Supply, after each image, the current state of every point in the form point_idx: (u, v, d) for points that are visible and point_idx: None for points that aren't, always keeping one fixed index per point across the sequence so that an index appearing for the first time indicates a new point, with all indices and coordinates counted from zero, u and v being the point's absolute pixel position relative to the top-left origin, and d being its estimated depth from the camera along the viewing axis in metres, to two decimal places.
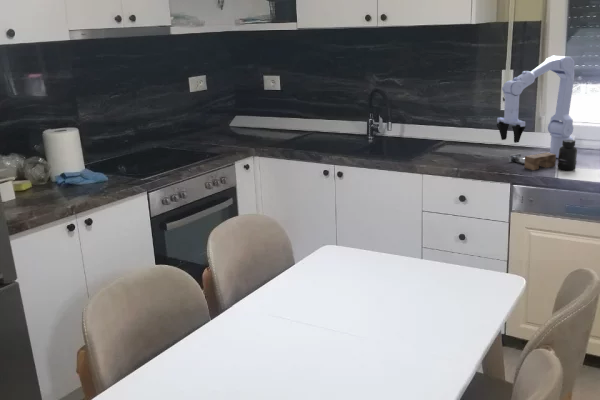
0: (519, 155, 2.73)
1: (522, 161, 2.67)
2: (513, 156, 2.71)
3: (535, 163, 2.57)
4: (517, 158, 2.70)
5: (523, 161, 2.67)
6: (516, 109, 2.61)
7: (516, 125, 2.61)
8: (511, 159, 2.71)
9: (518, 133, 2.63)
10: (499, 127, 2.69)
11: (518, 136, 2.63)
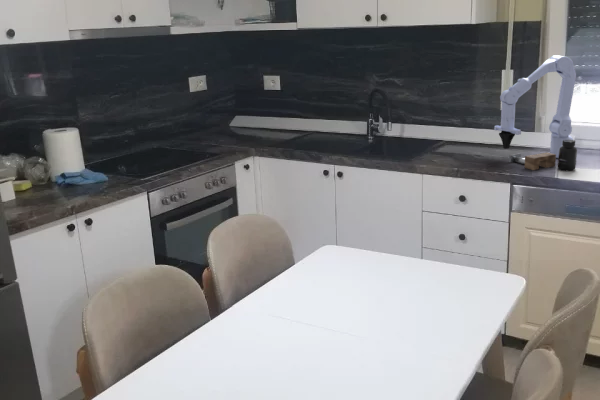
0: (519, 155, 2.73)
1: (522, 161, 2.67)
2: (513, 156, 2.71)
3: (535, 163, 2.57)
4: (517, 158, 2.70)
5: (523, 161, 2.67)
6: (510, 118, 2.70)
7: (506, 132, 2.73)
8: (511, 159, 2.71)
9: (508, 140, 2.75)
10: (501, 136, 2.75)
11: (508, 142, 2.75)
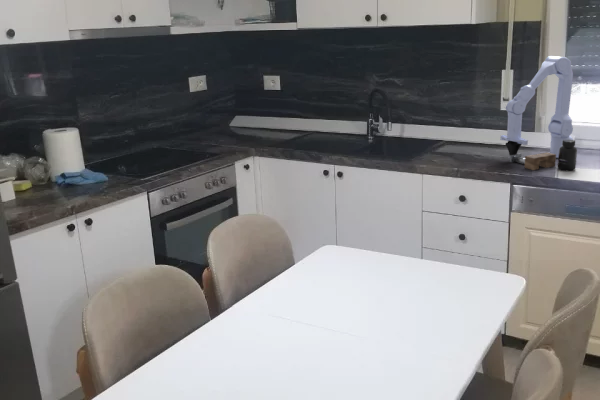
0: (519, 155, 2.72)
1: (523, 161, 2.67)
2: (513, 156, 2.71)
3: (535, 163, 2.57)
4: (518, 158, 2.70)
5: (524, 161, 2.66)
6: (518, 128, 2.67)
7: (512, 142, 2.71)
8: (511, 159, 2.71)
9: (514, 150, 2.72)
10: (508, 146, 2.72)
11: (514, 152, 2.73)
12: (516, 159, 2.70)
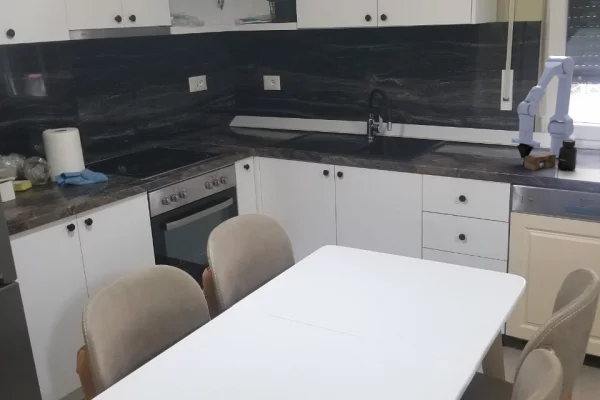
0: None
1: None
2: None
3: (535, 163, 2.57)
4: None
5: None
6: (532, 130, 2.62)
7: (524, 145, 2.65)
8: (523, 162, 2.65)
9: (526, 152, 2.66)
10: (519, 149, 2.66)
11: (526, 155, 2.66)
12: None
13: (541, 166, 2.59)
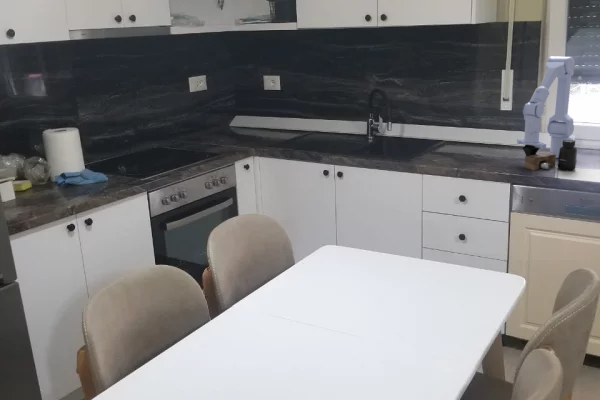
0: None
1: (541, 166, 2.58)
2: None
3: (535, 163, 2.57)
4: None
5: (542, 166, 2.57)
6: (538, 131, 2.59)
7: (530, 146, 2.62)
8: None
9: (532, 154, 2.63)
10: (525, 150, 2.63)
11: None
12: None
13: (547, 167, 2.56)
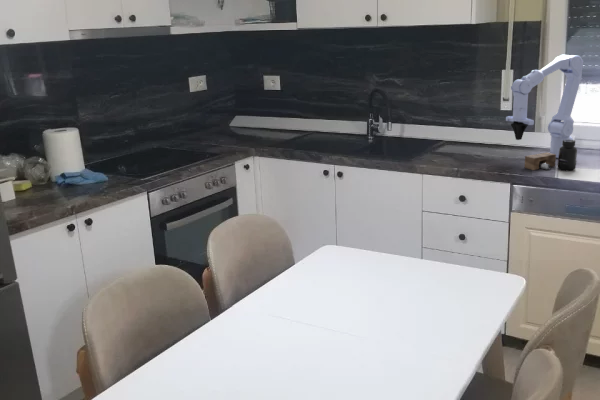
0: None
1: (541, 166, 2.58)
2: None
3: (535, 163, 2.57)
4: None
5: (542, 166, 2.57)
6: (525, 108, 2.63)
7: (519, 123, 2.66)
8: None
9: (521, 130, 2.68)
10: (513, 127, 2.68)
11: (521, 133, 2.68)
12: None
13: (547, 168, 2.56)
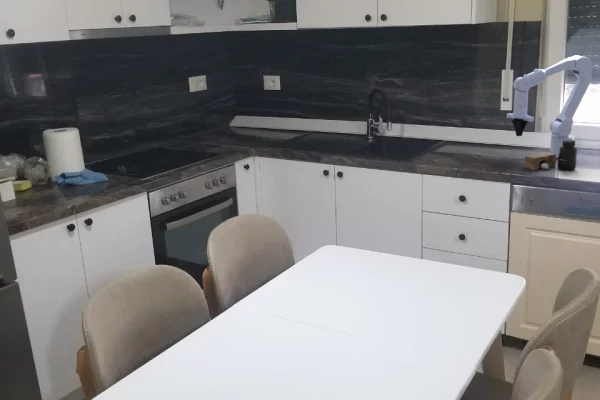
0: None
1: (541, 166, 2.58)
2: None
3: (535, 163, 2.57)
4: None
5: (542, 166, 2.57)
6: (523, 105, 2.70)
7: (519, 119, 2.73)
8: None
9: (521, 127, 2.75)
10: (514, 123, 2.75)
11: (521, 130, 2.75)
12: None
13: (547, 168, 2.56)
